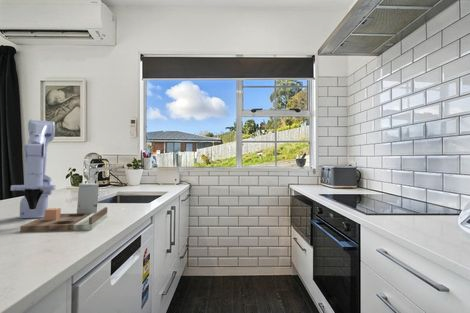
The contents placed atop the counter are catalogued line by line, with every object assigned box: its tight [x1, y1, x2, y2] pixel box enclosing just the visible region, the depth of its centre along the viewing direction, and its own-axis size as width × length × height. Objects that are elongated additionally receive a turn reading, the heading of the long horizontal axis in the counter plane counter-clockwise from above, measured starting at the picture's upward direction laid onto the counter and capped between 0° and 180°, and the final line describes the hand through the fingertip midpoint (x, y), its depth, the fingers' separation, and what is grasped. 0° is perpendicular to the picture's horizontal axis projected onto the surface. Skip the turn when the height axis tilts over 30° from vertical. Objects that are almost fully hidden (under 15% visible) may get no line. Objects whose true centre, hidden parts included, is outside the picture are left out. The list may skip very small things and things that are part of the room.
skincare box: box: [76, 182, 99, 213], centre depth 122 cm, size 8×6×15 cm
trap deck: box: [19, 206, 108, 233], centre depth 106 cm, size 23×22×4 cm
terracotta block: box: [44, 207, 62, 220], centre depth 105 cm, size 4×4×4 cm
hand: (32, 208), depth 103 cm, fingers closed
